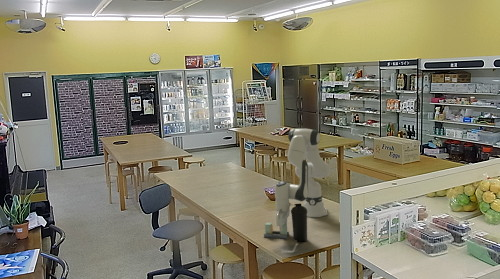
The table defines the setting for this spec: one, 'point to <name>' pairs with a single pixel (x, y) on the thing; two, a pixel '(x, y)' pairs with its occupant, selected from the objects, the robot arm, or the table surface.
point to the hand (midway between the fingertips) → (283, 227)
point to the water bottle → (299, 223)
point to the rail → (276, 235)
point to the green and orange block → (268, 228)
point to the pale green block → (284, 229)
